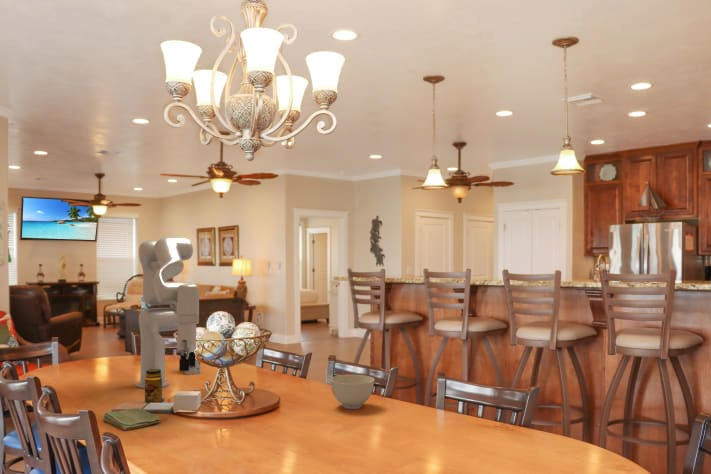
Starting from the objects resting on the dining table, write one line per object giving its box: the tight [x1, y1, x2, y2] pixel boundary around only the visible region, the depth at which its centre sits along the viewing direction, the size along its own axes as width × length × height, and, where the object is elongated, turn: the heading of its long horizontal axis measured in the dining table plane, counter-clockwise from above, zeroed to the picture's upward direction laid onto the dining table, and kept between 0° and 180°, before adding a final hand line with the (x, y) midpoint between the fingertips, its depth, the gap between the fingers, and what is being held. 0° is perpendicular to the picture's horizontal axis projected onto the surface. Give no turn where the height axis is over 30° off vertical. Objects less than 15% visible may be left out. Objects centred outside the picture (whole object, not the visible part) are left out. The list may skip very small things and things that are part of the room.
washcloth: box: [103, 408, 161, 431], centre depth 210 cm, size 13×18×3 cm
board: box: [110, 402, 174, 414], centre depth 225 cm, size 10×20×1 cm, turn 92°
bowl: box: [330, 374, 375, 410], centre depth 232 cm, size 16×16×10 cm
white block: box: [173, 390, 202, 414], centre depth 225 cm, size 6×8×6 cm
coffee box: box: [183, 353, 201, 375], centre depth 290 cm, size 9×6×16 cm
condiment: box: [142, 369, 165, 403], centre depth 236 cm, size 7×8×12 cm
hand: (187, 368), depth 225 cm, fingers open, 9 cm apart
